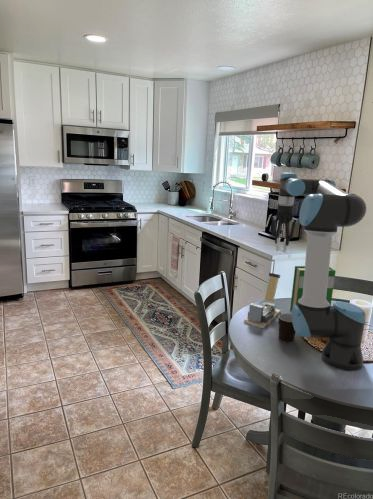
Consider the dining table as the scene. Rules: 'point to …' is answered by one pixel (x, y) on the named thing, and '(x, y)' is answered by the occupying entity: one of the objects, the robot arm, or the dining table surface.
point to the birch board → (262, 322)
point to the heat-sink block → (261, 312)
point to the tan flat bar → (272, 287)
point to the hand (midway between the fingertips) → (281, 250)
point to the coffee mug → (286, 328)
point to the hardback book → (299, 281)
